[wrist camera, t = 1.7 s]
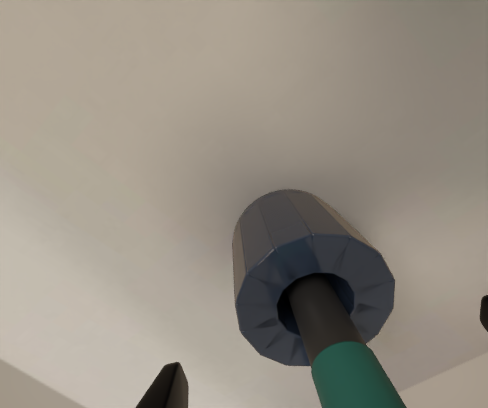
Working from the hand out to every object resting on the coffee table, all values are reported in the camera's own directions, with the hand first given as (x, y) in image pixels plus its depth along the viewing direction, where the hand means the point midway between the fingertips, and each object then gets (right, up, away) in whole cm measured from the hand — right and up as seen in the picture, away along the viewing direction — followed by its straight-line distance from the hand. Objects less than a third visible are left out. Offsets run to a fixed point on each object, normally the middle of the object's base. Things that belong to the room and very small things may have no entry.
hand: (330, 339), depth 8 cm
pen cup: (0, +2, +6) cm, 6 cm away
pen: (0, +2, +6) cm, 6 cm away
